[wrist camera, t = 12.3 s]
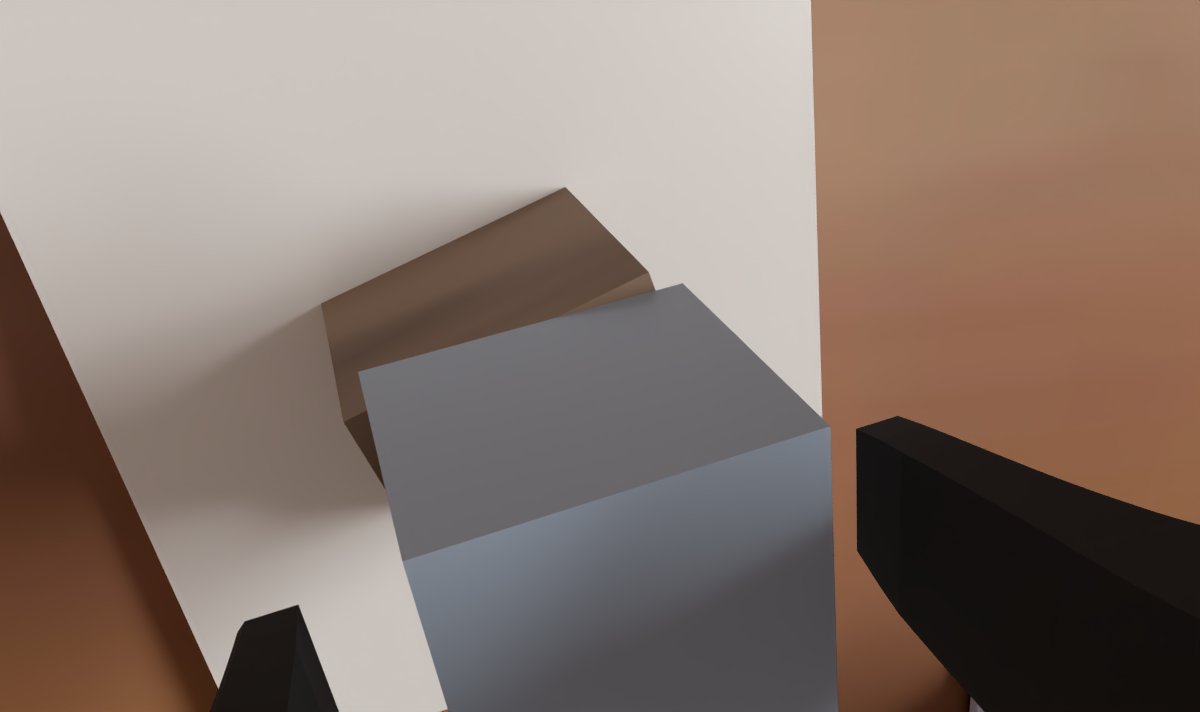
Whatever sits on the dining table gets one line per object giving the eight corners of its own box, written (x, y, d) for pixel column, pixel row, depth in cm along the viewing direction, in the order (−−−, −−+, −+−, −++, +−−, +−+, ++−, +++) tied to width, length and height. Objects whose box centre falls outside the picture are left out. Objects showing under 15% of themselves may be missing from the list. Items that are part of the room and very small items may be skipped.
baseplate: (801, 546, 24) (826, 577, 23) (256, 731, 21) (257, 774, 20) (769, -208, 16) (805, -211, 15) (-99, -70, 13) (-127, -64, 12)
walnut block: (647, 391, 19) (736, 507, 16) (435, 497, 19) (479, 641, 15) (565, 187, 17) (648, 271, 13) (321, 303, 16) (343, 421, 13)
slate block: (709, 536, 16) (838, 722, 12) (434, 627, 15) (493, 857, 11) (682, 283, 14) (830, 425, 10) (357, 371, 13) (402, 561, 9)
